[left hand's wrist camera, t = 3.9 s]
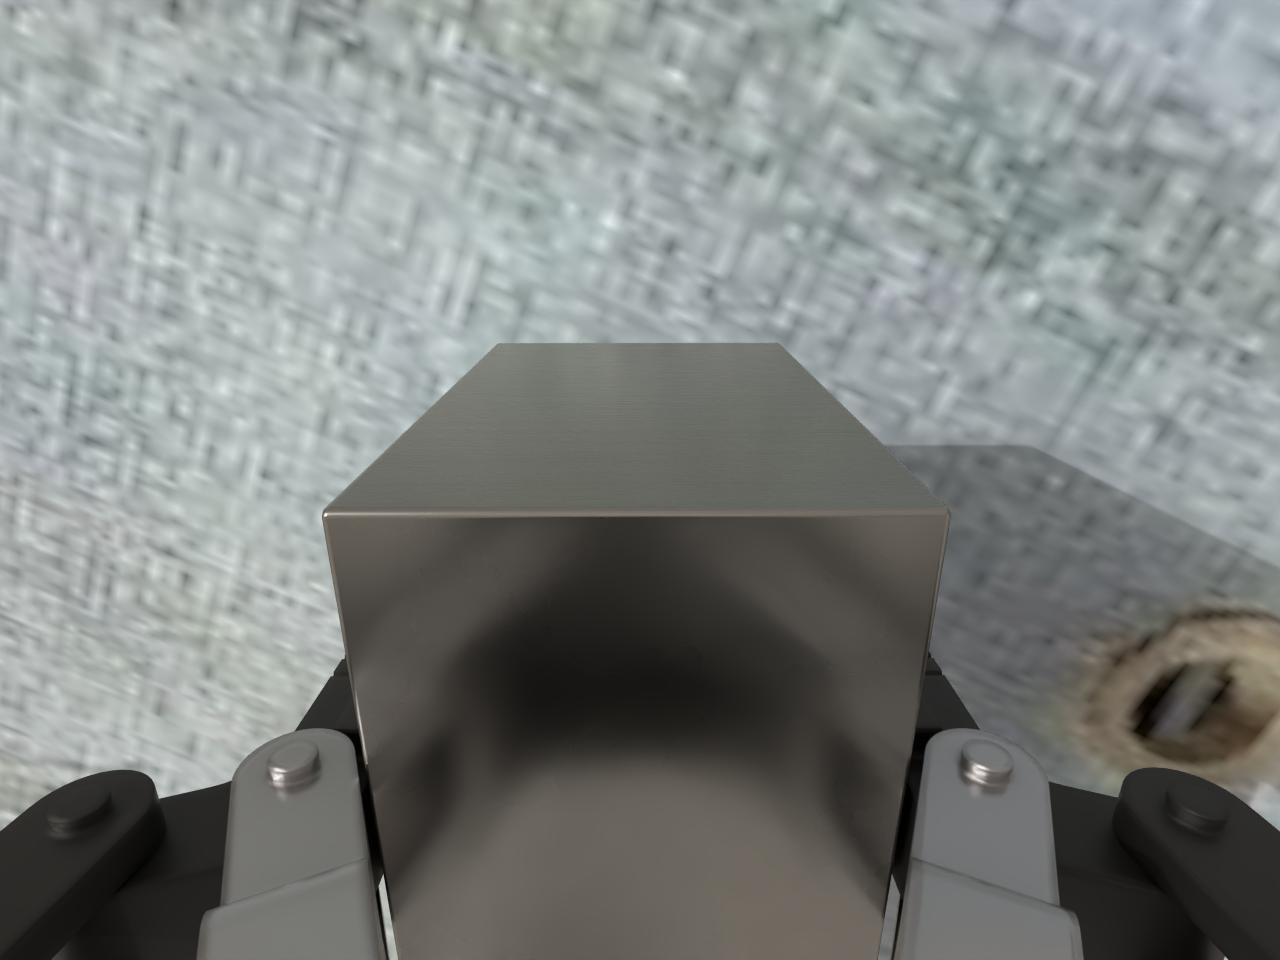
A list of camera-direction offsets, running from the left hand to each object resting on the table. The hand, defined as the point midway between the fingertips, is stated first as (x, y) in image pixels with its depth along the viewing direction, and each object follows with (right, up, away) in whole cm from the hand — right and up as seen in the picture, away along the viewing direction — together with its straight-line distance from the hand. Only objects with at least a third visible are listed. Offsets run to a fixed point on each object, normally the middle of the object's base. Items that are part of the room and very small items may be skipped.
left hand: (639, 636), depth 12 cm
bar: (0, -6, +7) cm, 9 cm away
